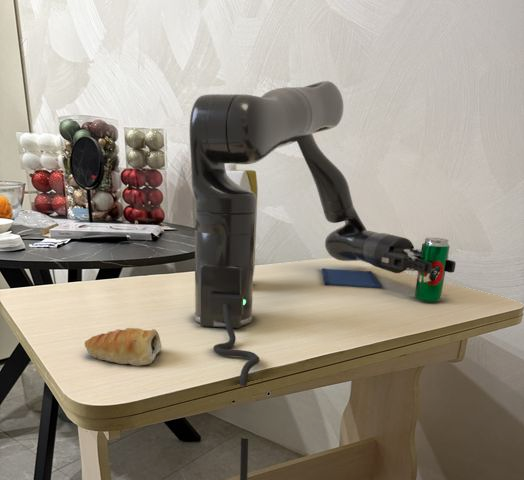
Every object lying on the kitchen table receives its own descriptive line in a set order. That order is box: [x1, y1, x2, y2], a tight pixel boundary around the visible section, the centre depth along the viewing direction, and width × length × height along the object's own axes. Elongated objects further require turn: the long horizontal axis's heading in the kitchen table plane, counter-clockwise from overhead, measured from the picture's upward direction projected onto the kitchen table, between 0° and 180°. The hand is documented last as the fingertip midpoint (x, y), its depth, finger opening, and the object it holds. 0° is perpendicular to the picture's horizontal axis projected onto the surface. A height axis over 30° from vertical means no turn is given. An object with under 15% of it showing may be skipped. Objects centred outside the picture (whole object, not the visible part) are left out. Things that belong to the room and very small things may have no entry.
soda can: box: [414, 237, 451, 304], centre depth 102 cm, size 5×5×12 cm
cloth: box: [321, 267, 382, 289], centre depth 119 cm, size 16×12×1 cm
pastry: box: [84, 327, 162, 367], centre depth 67 cm, size 9×7×4 cm
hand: (442, 267), depth 99 cm, fingers closed on soda can, 5 cm apart
